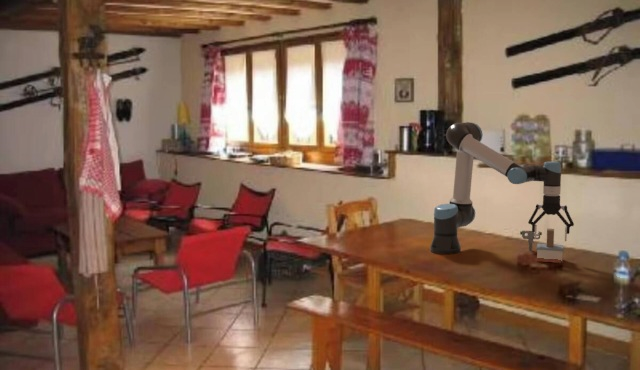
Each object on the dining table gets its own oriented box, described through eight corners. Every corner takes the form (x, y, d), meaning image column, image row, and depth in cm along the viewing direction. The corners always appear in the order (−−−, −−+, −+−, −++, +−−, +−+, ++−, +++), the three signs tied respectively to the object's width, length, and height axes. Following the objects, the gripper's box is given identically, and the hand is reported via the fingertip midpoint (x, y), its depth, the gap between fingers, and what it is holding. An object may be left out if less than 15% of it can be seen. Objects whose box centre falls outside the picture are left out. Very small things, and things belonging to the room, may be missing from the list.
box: (536, 261, 301) (537, 249, 300) (537, 258, 308) (538, 245, 308) (561, 263, 297) (562, 251, 296) (562, 259, 304) (562, 247, 304)
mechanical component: (541, 251, 321) (542, 232, 320) (520, 251, 323) (520, 231, 322) (540, 250, 324) (541, 230, 322) (519, 249, 326) (520, 230, 324)
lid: (536, 251, 300) (537, 230, 299) (537, 247, 308) (538, 227, 307) (563, 252, 296) (563, 232, 295) (563, 248, 304) (563, 228, 303)
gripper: (523, 194, 300) (522, 239, 302) (580, 197, 291) (578, 243, 293) (524, 192, 307) (523, 236, 309) (580, 194, 298) (578, 239, 300)
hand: (550, 239), depth 301 cm, fingers open, 13 cm apart
